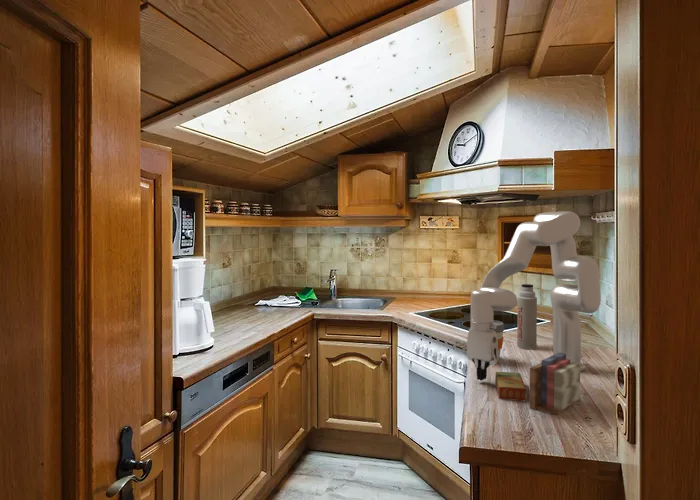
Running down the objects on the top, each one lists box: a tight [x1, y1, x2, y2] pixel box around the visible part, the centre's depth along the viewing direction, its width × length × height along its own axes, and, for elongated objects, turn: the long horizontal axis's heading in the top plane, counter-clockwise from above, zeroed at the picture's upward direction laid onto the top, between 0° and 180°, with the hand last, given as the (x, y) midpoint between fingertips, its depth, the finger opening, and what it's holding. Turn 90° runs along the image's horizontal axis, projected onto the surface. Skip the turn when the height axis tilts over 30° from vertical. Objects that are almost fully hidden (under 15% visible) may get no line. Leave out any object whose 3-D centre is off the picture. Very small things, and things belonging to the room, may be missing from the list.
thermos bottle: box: [516, 283, 538, 350], centre depth 196 cm, size 8×8×28 cm
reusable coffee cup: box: [493, 319, 505, 363], centre depth 179 cm, size 13×13×15 cm
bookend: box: [529, 353, 581, 416], centre depth 133 cm, size 18×8×14 cm, turn 131°
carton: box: [494, 371, 527, 402], centre depth 145 cm, size 8×16×4 cm, turn 166°
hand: (481, 378), depth 153 cm, fingers closed
